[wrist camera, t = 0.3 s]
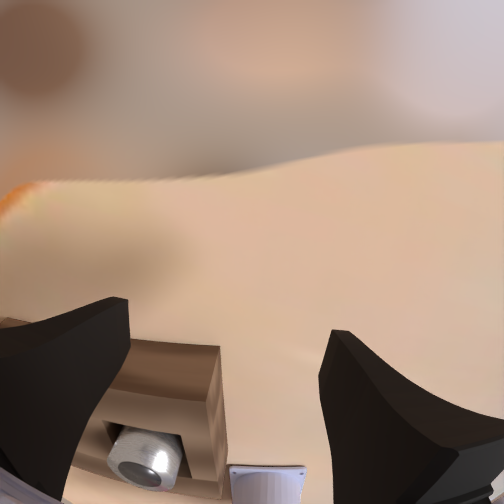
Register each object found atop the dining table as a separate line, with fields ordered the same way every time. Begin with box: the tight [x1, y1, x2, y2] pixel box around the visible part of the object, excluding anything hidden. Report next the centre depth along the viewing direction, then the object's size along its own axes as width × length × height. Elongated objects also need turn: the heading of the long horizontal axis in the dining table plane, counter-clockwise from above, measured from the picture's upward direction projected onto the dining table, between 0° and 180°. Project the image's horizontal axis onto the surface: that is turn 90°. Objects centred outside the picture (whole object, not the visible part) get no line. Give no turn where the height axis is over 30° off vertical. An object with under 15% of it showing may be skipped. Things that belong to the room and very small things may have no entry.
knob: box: [107, 425, 184, 491], centre depth 19 cm, size 5×5×6 cm
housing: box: [0, 318, 228, 499], centre depth 21 cm, size 13×22×6 cm, turn 90°
